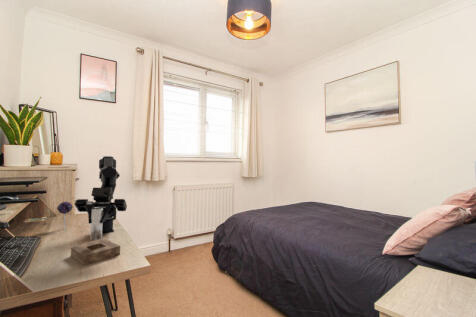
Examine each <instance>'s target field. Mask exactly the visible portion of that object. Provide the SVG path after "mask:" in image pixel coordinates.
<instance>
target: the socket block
mask: <svg viewBox="0 0 476 317" xmlns="http://www.w3.org/2000/svg"><path fill="white" fill-rule="evenodd" d="M119 254H120V255H121V245H120V244H117V243H115V242H112V241H110V240H109V239H99V240H95V241H92V242H87V243H84V244H79V245H74V246H72V247H71V248H70V257H71V258H73V259H74V260H76V261H77V262H79V263H80V264H82V265H83V266H87V265H89V264H93V263H96V262H100V261H103V260H106V259H110V258H114V257H115V256H120V255H119Z"/></svg>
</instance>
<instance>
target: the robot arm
mask: <svg viewBox="0 0 476 317" xmlns="http://www.w3.org/2000/svg"><path fill="white" fill-rule="evenodd" d="M98 169H99V175H98V176H99V177H98V180H100V182H101V186H100V187H93V188H92V191H91V196H92V197H93V198H92V199H93V200H90V201H89V199H88V198H78V199H76V200H75V202H74V206H75V207H76V210H77V212H79V213H82V212H83V213H85V212H87V214H88V216H87V217H88V224H89V225H91V210H92V209H93V208H103V216H102V219H101V223H103V224H102V235H103V234H107V233H111V232H115V230H114V221H115V220H116V219H117V211H118V212H126V210H127V207H128V205H127V203H126V202H127V201H126V199H125V198H115V199H114V193H115V190H116V187H117V180H118V179H119V178H120V173H119V172H118V171H117V160H116V159H115V158H114V156H110V155H108V156H106V155H103V156H102V158H101V159H99V160H98ZM112 200H113V202H112Z"/></svg>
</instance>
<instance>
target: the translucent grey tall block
mask: <svg viewBox="0 0 476 317" xmlns="http://www.w3.org/2000/svg"><path fill="white" fill-rule="evenodd" d="M102 216H103V208H93V209H92V210H91V223H90V236H89V238H90V240H91V241H100V240H102V238H103V234H102V224H103V223H101V219H102Z"/></svg>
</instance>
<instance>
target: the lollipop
mask: <svg viewBox="0 0 476 317" xmlns="http://www.w3.org/2000/svg"><path fill="white" fill-rule="evenodd" d="M73 208H74V207H73V205H72V203H70V202H68V201H63V202H61V203H59V204H58V206H57V211H58V212H59V213H60V214H63V230H65V229H66V214H68V213H70V212H71V211H72V209H73Z"/></svg>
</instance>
